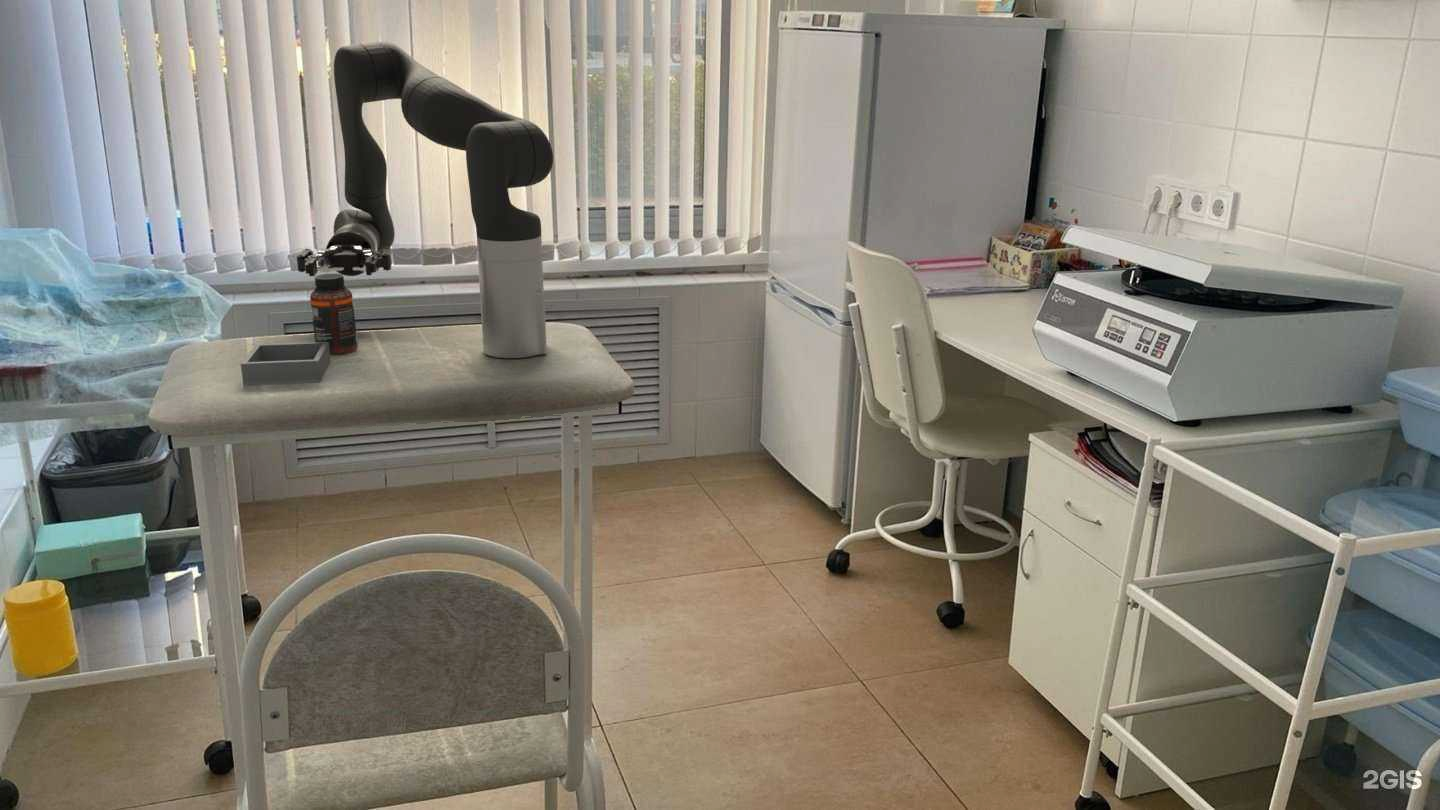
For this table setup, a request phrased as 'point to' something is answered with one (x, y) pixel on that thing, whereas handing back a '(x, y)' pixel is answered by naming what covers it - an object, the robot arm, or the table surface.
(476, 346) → the table surface
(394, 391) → the table surface
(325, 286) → the supplement bottle
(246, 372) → the grey storage bin
